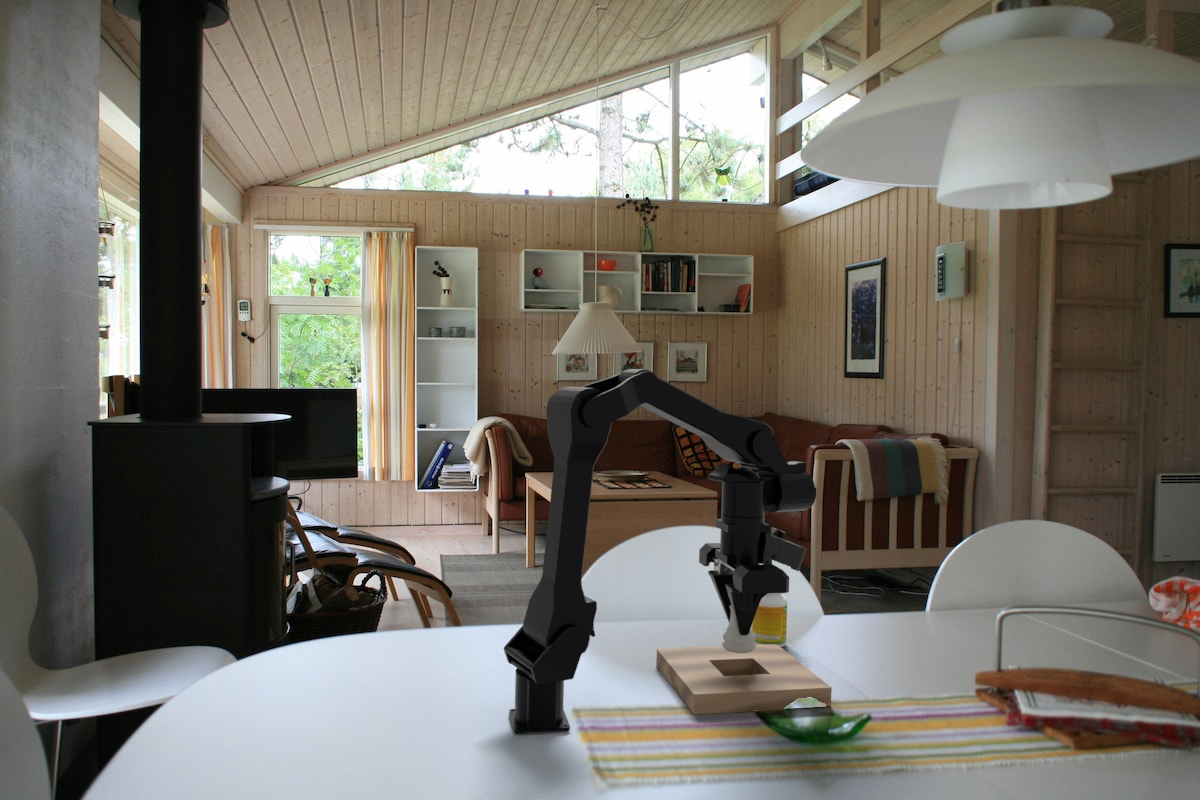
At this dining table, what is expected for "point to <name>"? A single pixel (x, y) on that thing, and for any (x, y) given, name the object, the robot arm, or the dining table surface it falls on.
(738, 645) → the rook chess piece
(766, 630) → the supplement bottle
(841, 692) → the dining table surface
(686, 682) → the socket block
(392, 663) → the dining table surface
